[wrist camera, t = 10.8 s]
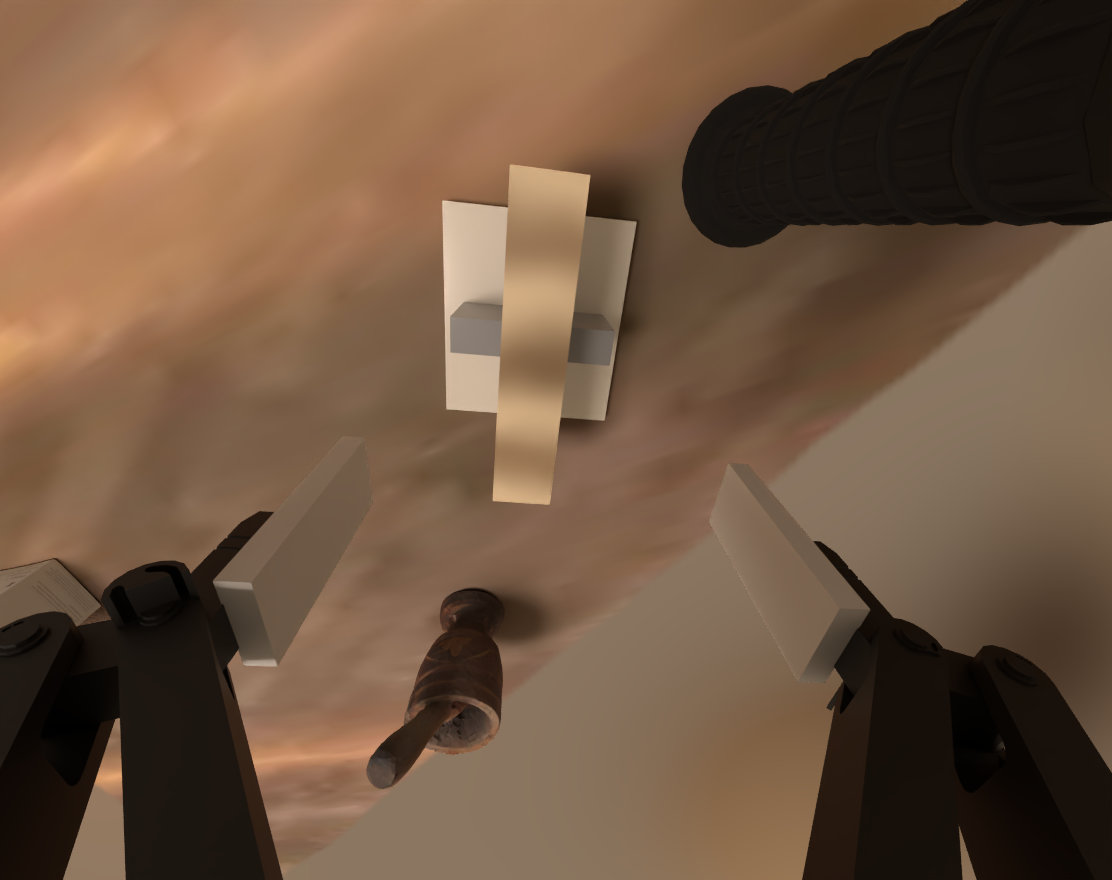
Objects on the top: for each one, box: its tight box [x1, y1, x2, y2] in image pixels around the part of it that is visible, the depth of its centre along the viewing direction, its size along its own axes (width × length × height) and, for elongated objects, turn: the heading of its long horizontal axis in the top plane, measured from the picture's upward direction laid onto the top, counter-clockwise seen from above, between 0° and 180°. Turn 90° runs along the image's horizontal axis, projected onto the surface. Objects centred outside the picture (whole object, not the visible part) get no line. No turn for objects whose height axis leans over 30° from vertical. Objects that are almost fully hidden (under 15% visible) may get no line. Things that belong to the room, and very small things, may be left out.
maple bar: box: [493, 164, 590, 505], centre depth 27 cm, size 20×4×4 cm, turn 174°
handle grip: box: [682, 0, 1112, 247], centre depth 19 cm, size 10×26×10 cm
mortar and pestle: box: [367, 591, 504, 789], centre depth 41 cm, size 12×9×20 cm
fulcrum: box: [443, 201, 636, 421], centre depth 32 cm, size 16×14×7 cm
